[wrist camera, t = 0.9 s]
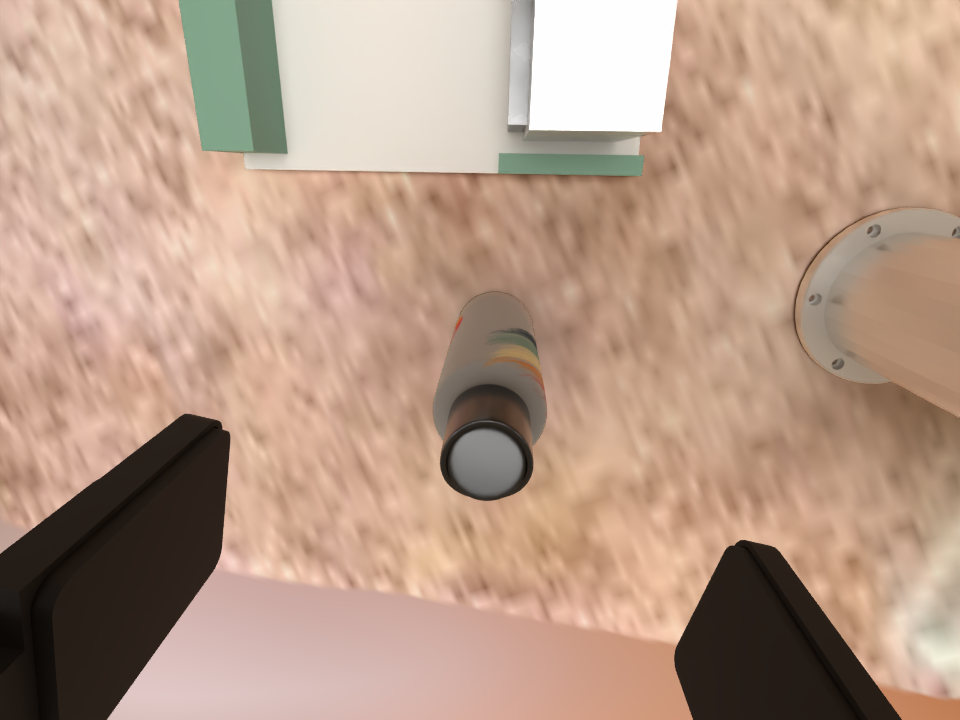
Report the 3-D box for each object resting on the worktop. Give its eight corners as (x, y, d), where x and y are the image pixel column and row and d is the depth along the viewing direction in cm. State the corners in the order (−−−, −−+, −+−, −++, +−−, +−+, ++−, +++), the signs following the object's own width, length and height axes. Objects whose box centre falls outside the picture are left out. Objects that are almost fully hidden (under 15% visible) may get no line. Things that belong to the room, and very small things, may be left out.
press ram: (639, -90, 29) (704, -214, 20) (616, 142, 33) (661, 131, 24) (514, -90, 29) (519, -213, 20) (507, 140, 33) (508, 129, 24)
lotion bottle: (458, 361, 41) (419, 527, 22) (456, 290, 39) (411, 404, 20) (531, 361, 40) (555, 529, 22) (533, 289, 38) (560, 405, 20)
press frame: (663, -121, 30) (704, -195, 24) (630, 175, 35) (657, 176, 29) (219, -119, 31) (148, -191, 25) (255, 169, 36) (205, 168, 30)
